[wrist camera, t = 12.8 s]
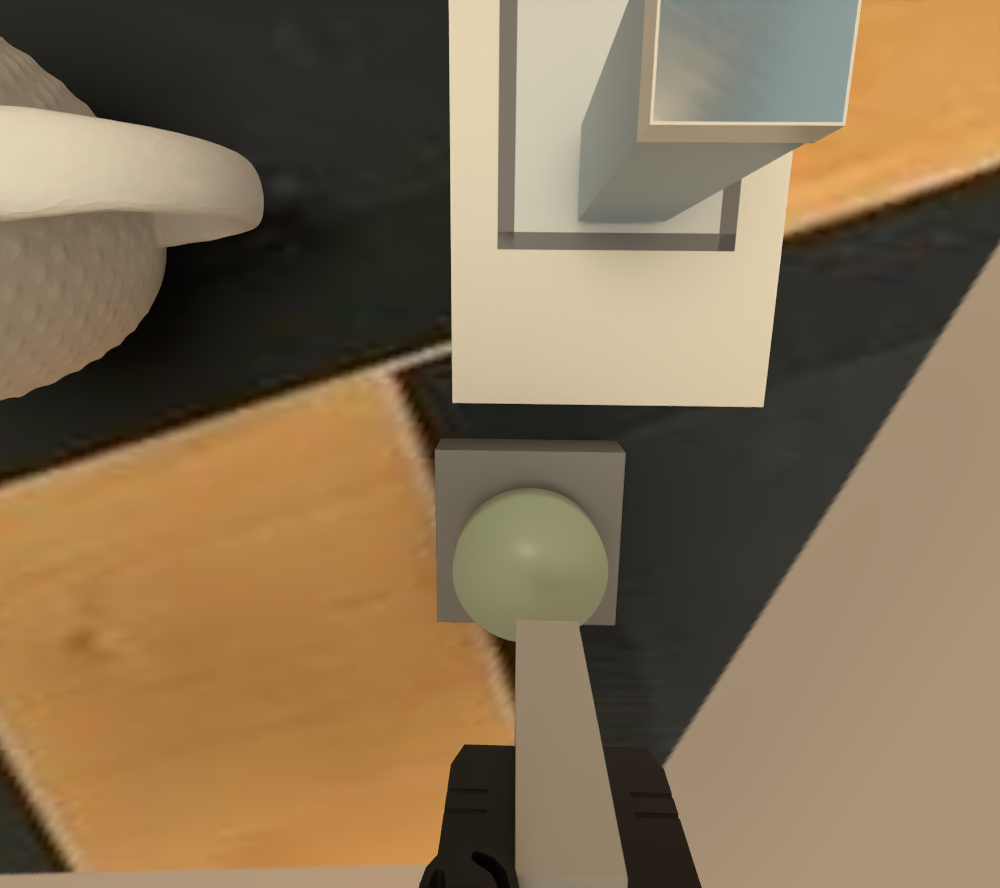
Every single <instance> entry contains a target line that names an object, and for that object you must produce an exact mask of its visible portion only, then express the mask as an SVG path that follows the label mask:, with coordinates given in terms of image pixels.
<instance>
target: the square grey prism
mask: <svg viewBox="0 0 1000 888" xmlns="http://www.w3.org/2000/svg"><path fill="white" fill-rule="evenodd" d="M861 3H862V0H629V1H628V4H627V6H626V9H625V11H624V14H623V17H622V19H621V22H620V25H619V27H618V30H617V33H616V35H615V38H614V40H613V43H612V46H611V48H610V51H609V54H608V56H607V59H606V62H605V64H604V67H603V69H602V72H601V75H600V77H599V80H598V83H597V85H596V88H595V91H594V93H593V96H592V98H591V101H590V104H589V106H588V109H587V112H586V114H585V117H584V120H583V122H582V125H581V146H580V172H579V198H578V221H635V222H666V221H667V220H669V219H671V218H673V217H674V216H676V215H678V214H680V213H682V212H683V211H685V210H687V209H689V208H690V207H692V206H694V205H696V204H698V203H699V202H701V201H703V200H705V199H707V198H708V197H710V196H712V195H714V194H715V193H717V192H719V191H721V190H723V189H724V188H726V187H728V186H730V185H731V184H733V183H735V182H737V181H739V180H740V179H742V178H744V177H746V176H747V175H749V174H751V173H753V172H755V171H756V170H758V169H760V168H762V167H763V166H765V165H767V164H769V163H771V162H772V161H774V160H776V159H778V158H780V157H781V156H783V155H785V154H787V153H788V152H790V151H792V150H794V149H796V148H797V147H799V146H801V145H803V144H804V143H814V142H816V141H818V140H820V139H822V138H823V137H825V136H827V135H829V134H831V133H833V132H834V131H836V130H838V129H840V128H842V127H844V126H845V123H846V116H847V108H848V101H849V93H850V86H851V78H852V71H853V63H854V56H855V48H856V40H857V33H858V25H859V18H860V10H861Z"/></svg>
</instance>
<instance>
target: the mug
mask: <svg viewBox="0 0 1000 888" xmlns="http://www.w3.org/2000/svg"><path fill="white" fill-rule="evenodd" d="M263 208H264V197H263V190H262V186H261V182H260V179H259V176H258V174H257V172H256V170H255V169H254V167H253V165H252V164H251V163H250V162H249V161H248V160H247V159H246V158H244V157H243V156H242V155H240V154H239V153H237V152H234V151H232V150H230V149H228V148H225V147H223V146H221V145H218V144H215V143H212V142H209V141H206V140H203V139H199V138H195V137H191V136H188V135H184V134H180V133H176V132H171V131H167V130H162V129H157V128H153V127H148V126H143V125H137V124H130V123H124V122H119V121H114V120H108V119H102V118H97V117H96V116H95V115H94V113H93V112H92V110H91V109H90V108H89V106H88V105H87V104H85V103H84V102H82V101H81V100H79V99H78V98H76V97H75V96H74V95H73V94H72V93H71V92H70V91H69V90H68V89H67V88H66V86H65V85H64V84H63V83H62V82H61V81H60V80H58V79H57V78H55V77H53V76H52V75H50V74H49V73H47V72H46V71H44V70H43V69H42V68H41V67H40V66H39V65H38V64H37V63H36V62H35V61H34V59H33V58H31V57H30V56H29V55H27V54H26V53H24V52H22V51H20V50H18V49H16V48H14V47H13V46H11V45H10V44H8V43H7V42H6V41H5V40H4V39H3V38H2V37H0V400H3V399H6V398H11V397H21V396H24V395H25V394H26V393H28V392H30V391H31V390H33V389H35V388H38V387H41V386H46V385H50V384H52V383H55V382H57V381H58V380H59V379H61V378H62V377H64V376H66V375H68V374H70V373H73V372H77V371H80V370H81V369H82V368H84V367H85V366H86V365H87V364H88V363H90V362H92V361H95V360H97V359H100V358H102V357H103V356H104V354H105V353H106V352H107V351H109V350H110V349H112V348H114V347H116V346H118V345H120V344H121V343H122V341H123V340H124V339H125V337H126V336H127V335H129V334H130V333H131V332H133V331H135V330H136V328H137V326H138V324H139V323H140V321H141V320H142V319H143V318H144V316H145V315H146V314H147V313H148V312H149V309H150V307H151V306H152V304H153V302H154V300H155V298H156V296H157V294H158V292H159V289H160V287H161V284H162V281H163V277H164V273H165V266H166V251H167V247H171V246H178V245H183V244H188V243H195V242H204V241H211V240H215V239H219V238H223V237H227V236H232V235H236V234H240V233H244V232H247V231H250V230H252V229H254V228H255V227H257V226H258V225H259V224H260V222H261V220H262V217H263Z"/></svg>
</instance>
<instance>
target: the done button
mask: <svg viewBox="0 0 1000 888" xmlns="http://www.w3.org/2000/svg"><path fill="white" fill-rule="evenodd" d="M452 573H453V583H454V587H455V591H456V594H457V597H458V599H459V601H460V603H461V605H462V607H463V608H464V610H465V611H466V612H467V614H468V615H469V616H470V617H471V618H472V619H473V620H474V621H475V622H476V623H477V624H478V625H479V626H481V627H482V628H483V629H485V630H487V631H488V632H490V633H492V634H494V635H496V636H498V637H500V638H503V639H506V640H510V641H515V642H516V620H538V621H578V624H579V627H580V626H581V625H582V624H584V623H585V622H586V621H587V620H588V619H589V618H590V617H591V615H592V614H593V613H594V612H595V611H596V609H597V607H598V606H599V604H600V602H601V600H602V598H603V596H604V593H605V590H606V586H607V581H608V561H607V555H606V552H605V549H604V546H603V543H602V541H601V538H600V536H599V533H598V531H597V529H596V527H595V525H594V523H593V521H592V520H591V518H590V517H589V516H588V515H587V513H586V512H585V511H584V510H583V509H582V508H581V507H580V506H578V505H577V504H576V503H575V502H573V501H572V500H570V499H569V498H567V497H565V496H563V495H561V494H558V493H555V492H552V491H549V490H544V489H537V488H521V489H515V490H510V491H507V492H503V493H501V494H499V495H496V496H494V497H492V498H491V499H489V500H487V501H486V502H484V503H483V504H482V505H481V506H479V507H478V508H477V509H476V510H475V511H474V512H473V513H472V514H471V515H470V517H469V518H468V520H467V521H466V522H465V524H464V526H463V528H462V530H461V533H460V535H459V538H458V542H457V546H456V551H455V555H454V560H453V570H452Z"/></svg>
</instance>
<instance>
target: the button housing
mask: <svg viewBox="0 0 1000 888" xmlns="http://www.w3.org/2000/svg"><path fill="white" fill-rule="evenodd" d="M625 456H626V453H625V451H624V450H623V449H622V447H621V446H620V445H619V444H618V442H617V441H609V440H540V439H471V438H441V439H440V441H439V443H438V445H437V447H436V449H435V494H436V557H437V620H438V622H475V621H474V620H473V619H472V618H471V617H470V616H469V615H468V614H467V612H466V611H465V610H464V608H463V607H462V605H461V603H460V601H459V599H458V597H457V594H456V591H455V587H454V583H453V573H452V570H453V560H454V555H455V551H456V546H457V542H458V538H459V535H460V533H461V530H462V528H463V526H464V524H465V522H466V521H467V520H468V518H469V517H470V515H471V514H472V513H473V512H474V511H475V510H476V509H477V508H478V507H479V506H481V505H482V504H483V503H484V502H486V501H487V500H489V499H491V498H492V497H494V496H496V495H499V494H501V493H503V492H507V491H510V490H515V489H521V488H537V489H544V490H549V491H552V492H555V493H558V494H561V495H563V496H565V497H567V498H569V499H570V500H572V501H573V502H575V503H576V504H577V505H578V506H580V507H581V508H582V509H583V510H584V511H585V512H586V513H587V515H588V516H589V517H590V518H591V520H592V521H593V523H594V525H595V527H596V529H597V531H598V533H599V536H600V538H601V541H602V543H603V546H604V549H605V552H606V555H607V561H608V581H607V586H606V590H605V593H604V596H603V598H602V600H601V602H600V604H599V606H598V607H597V609H596V611H595V612H594V613H593V614H592V615H591V617H590V618H589V619H588V620H587V621H586V622H585V623H584V624H582V625H615V617H616V601H617V585H618V569H619V553H620V536H621V520H622V504H623V488H624V472H625ZM475 623H476V622H475Z"/></svg>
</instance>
